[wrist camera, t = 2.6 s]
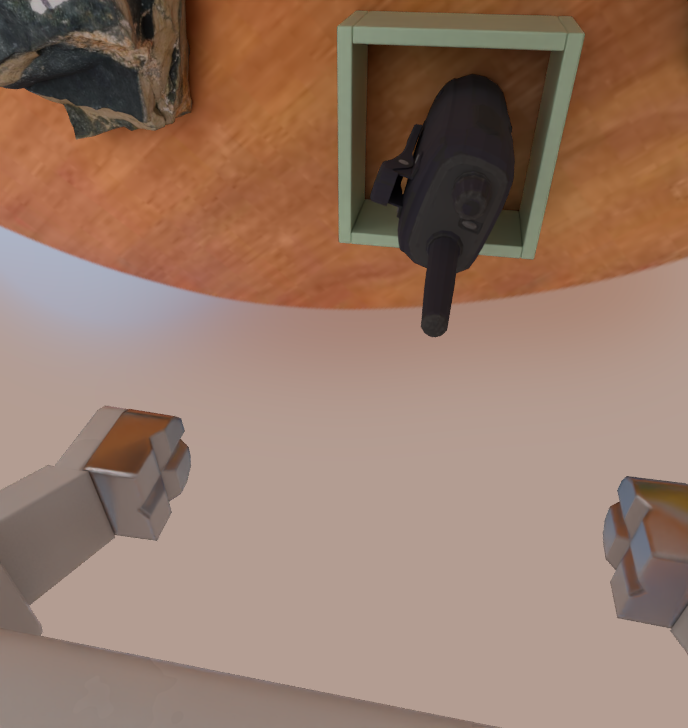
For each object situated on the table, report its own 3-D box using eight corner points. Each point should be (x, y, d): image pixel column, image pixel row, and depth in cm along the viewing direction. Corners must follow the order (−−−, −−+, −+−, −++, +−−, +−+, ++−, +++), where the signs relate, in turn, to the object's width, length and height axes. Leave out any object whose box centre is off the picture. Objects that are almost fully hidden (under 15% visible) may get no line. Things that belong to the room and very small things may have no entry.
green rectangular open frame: (572, 16, 24) (585, 33, 20) (529, 222, 29) (533, 260, 26) (355, 10, 25) (336, 25, 22) (353, 208, 30) (338, 243, 27)
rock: (98, 138, 31) (34, 178, 26) (-12, -73, 26) (-114, -66, 21) (241, 97, 28) (196, 134, 24) (151, -149, 23) (72, -160, 18)
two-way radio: (469, 194, 29) (456, 388, 17) (385, 163, 29) (316, 338, 17) (521, 80, 25) (549, 229, 14) (426, 44, 25) (374, 164, 14)
